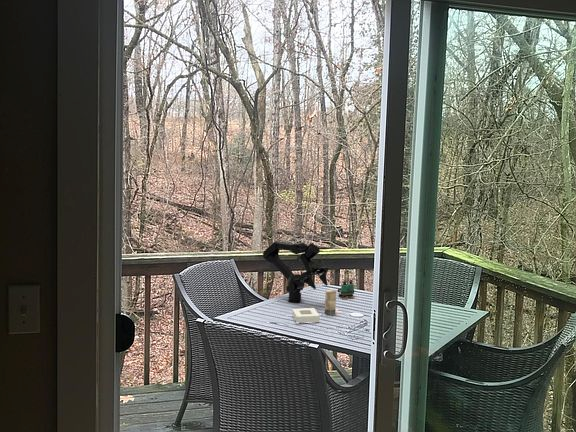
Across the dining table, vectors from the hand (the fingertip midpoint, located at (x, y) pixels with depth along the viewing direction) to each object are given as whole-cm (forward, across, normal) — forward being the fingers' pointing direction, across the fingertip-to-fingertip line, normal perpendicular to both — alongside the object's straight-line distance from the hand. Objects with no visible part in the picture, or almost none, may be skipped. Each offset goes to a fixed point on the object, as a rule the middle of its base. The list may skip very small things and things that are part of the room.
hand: (321, 287), depth 336 cm
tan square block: (+15, 0, +4) cm, 15 cm away
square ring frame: (+13, -16, +6) cm, 22 cm away
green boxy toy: (+6, +28, +14) cm, 32 cm away
